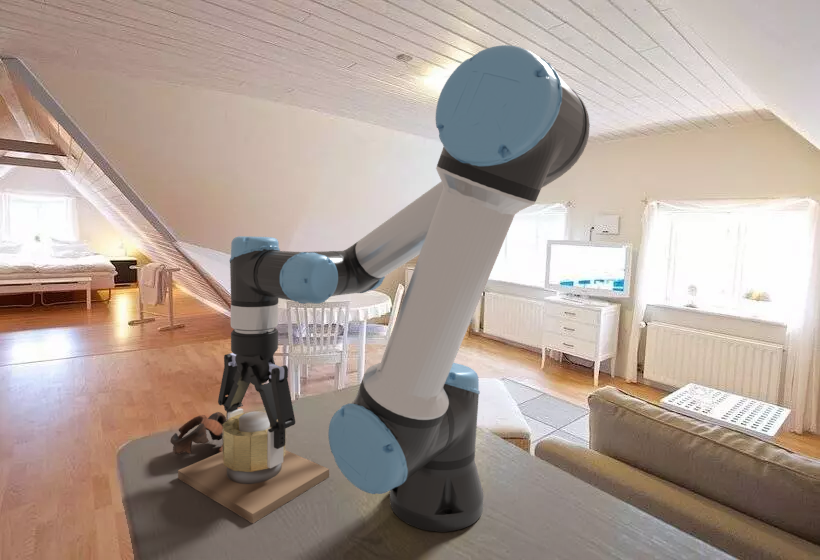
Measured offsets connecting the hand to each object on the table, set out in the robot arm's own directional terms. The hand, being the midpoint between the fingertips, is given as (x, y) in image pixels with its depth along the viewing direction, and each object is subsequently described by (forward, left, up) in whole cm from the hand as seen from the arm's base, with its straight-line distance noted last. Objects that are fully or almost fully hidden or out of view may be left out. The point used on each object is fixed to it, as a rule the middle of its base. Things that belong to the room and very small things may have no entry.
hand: (254, 454), depth 79 cm
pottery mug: (+15, 0, -5) cm, 16 cm away
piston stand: (0, 0, -4) cm, 4 cm away
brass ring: (0, 0, 0) cm, 0 cm away
